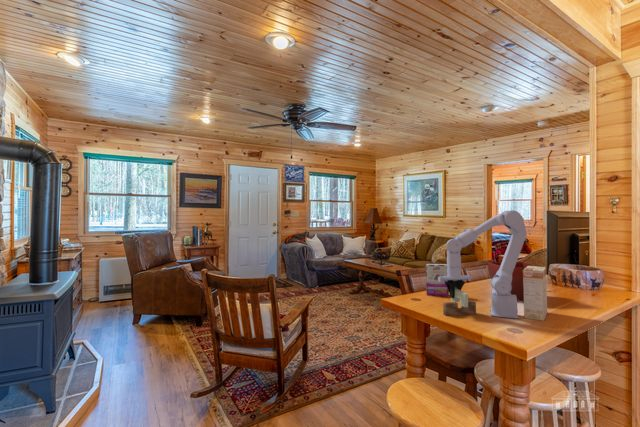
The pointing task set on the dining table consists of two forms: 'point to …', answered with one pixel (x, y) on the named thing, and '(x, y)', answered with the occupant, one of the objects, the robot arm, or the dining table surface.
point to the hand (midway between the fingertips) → (454, 297)
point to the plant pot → (516, 277)
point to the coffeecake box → (535, 292)
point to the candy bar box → (436, 280)
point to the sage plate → (461, 297)
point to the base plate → (453, 309)
